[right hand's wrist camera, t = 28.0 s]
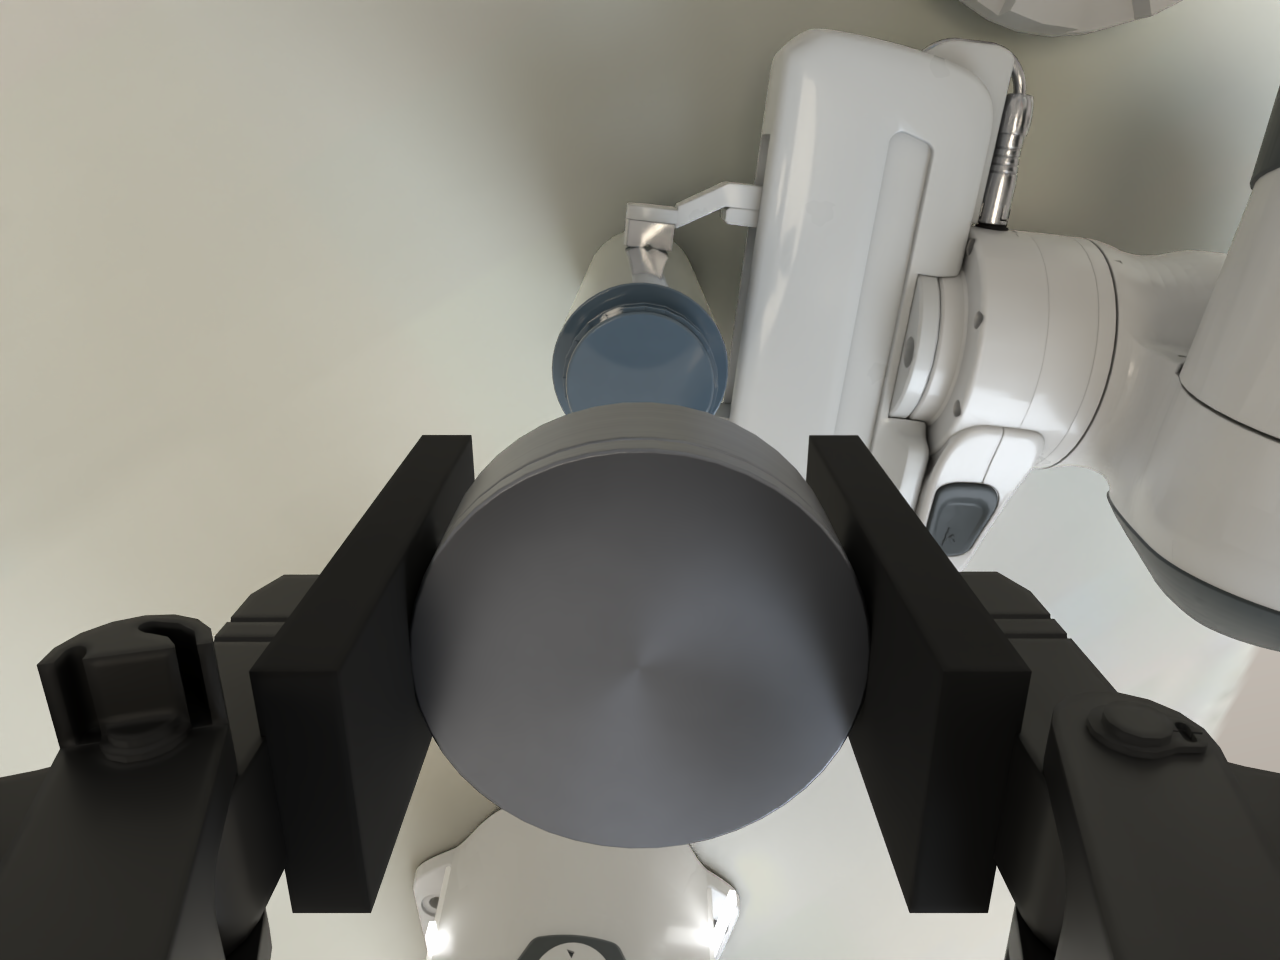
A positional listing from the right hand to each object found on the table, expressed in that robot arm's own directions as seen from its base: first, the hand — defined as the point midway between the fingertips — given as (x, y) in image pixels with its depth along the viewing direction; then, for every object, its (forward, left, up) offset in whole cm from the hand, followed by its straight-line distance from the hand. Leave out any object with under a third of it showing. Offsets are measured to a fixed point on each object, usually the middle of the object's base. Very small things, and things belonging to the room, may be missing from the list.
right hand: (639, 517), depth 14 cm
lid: (0, 0, +4) cm, 4 cm away
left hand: (+1, -1, -21) cm, 21 cm away
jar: (0, 0, -27) cm, 27 cm away
